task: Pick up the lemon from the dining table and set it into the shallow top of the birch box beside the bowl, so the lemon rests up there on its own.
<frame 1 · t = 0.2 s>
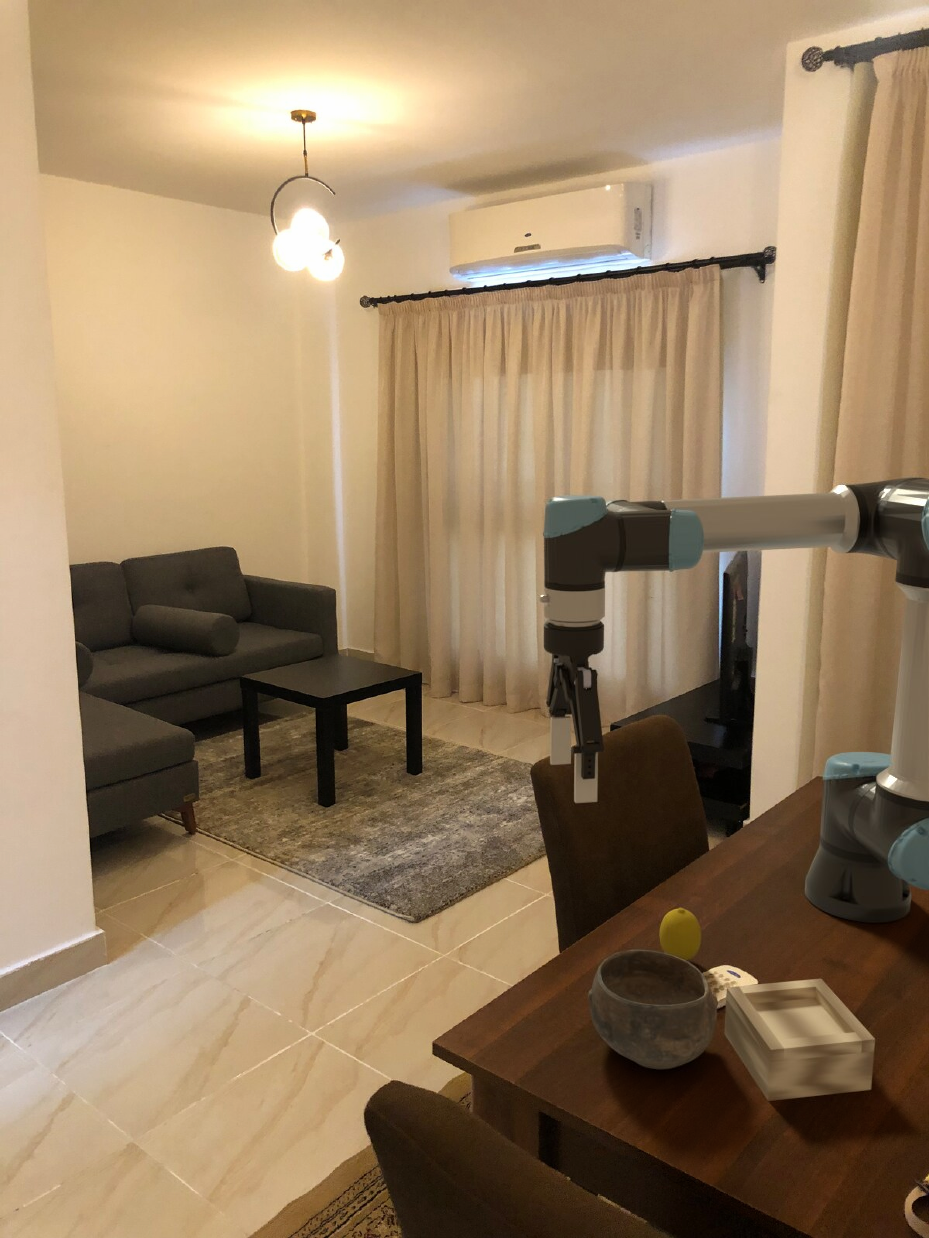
hand: (572, 781, 126), 27 cm above the table, tool pointing down, fingers open, 13 cm apart
bowl: (648, 1052, 115), on the table
birch box: (794, 1062, 113), on the table
lemon: (679, 963, 134), on the table
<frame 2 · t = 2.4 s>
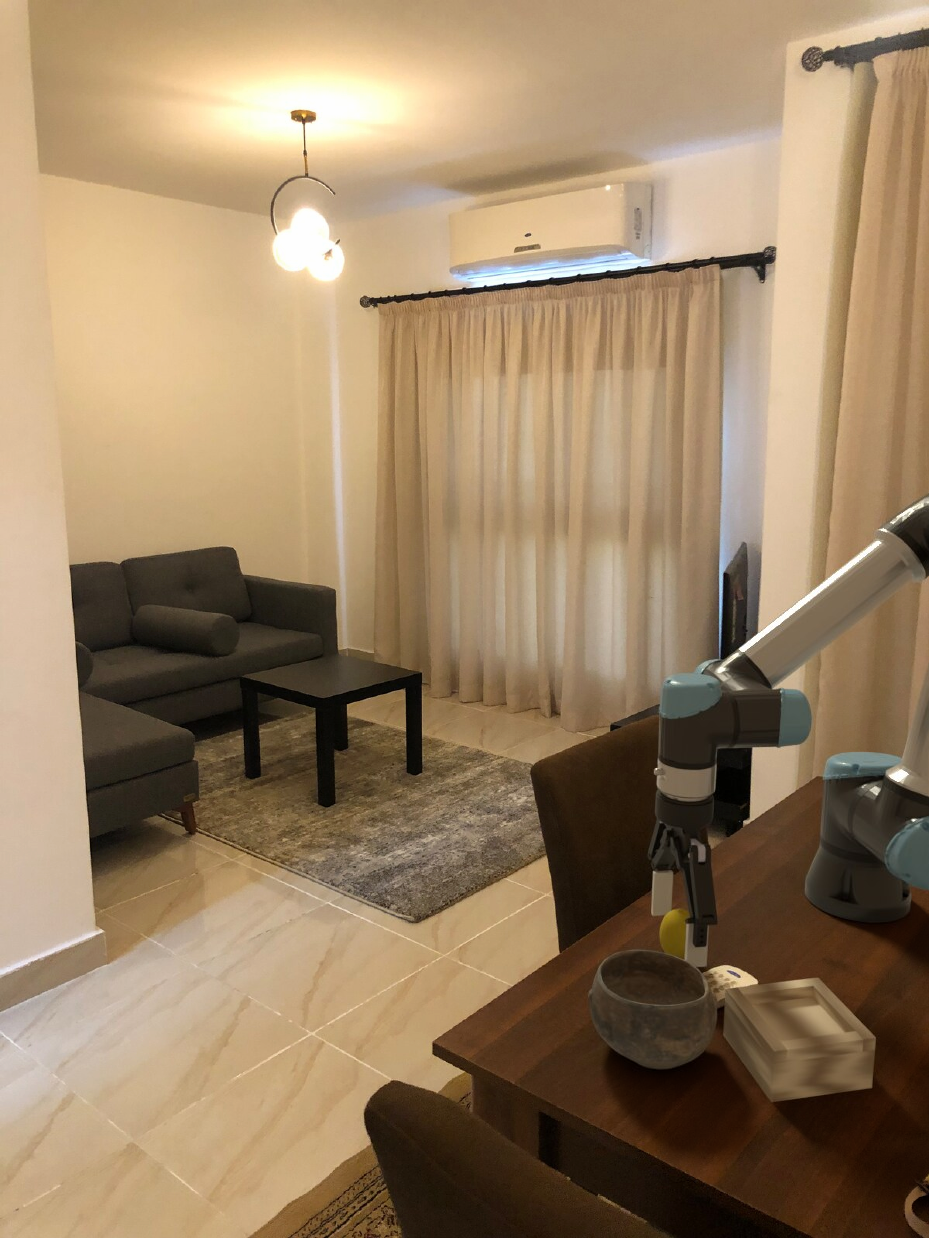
hand: (677, 938, 133), 4 cm above the table, tool pointing down, fingers open, 13 cm apart
nothing on the table moved.
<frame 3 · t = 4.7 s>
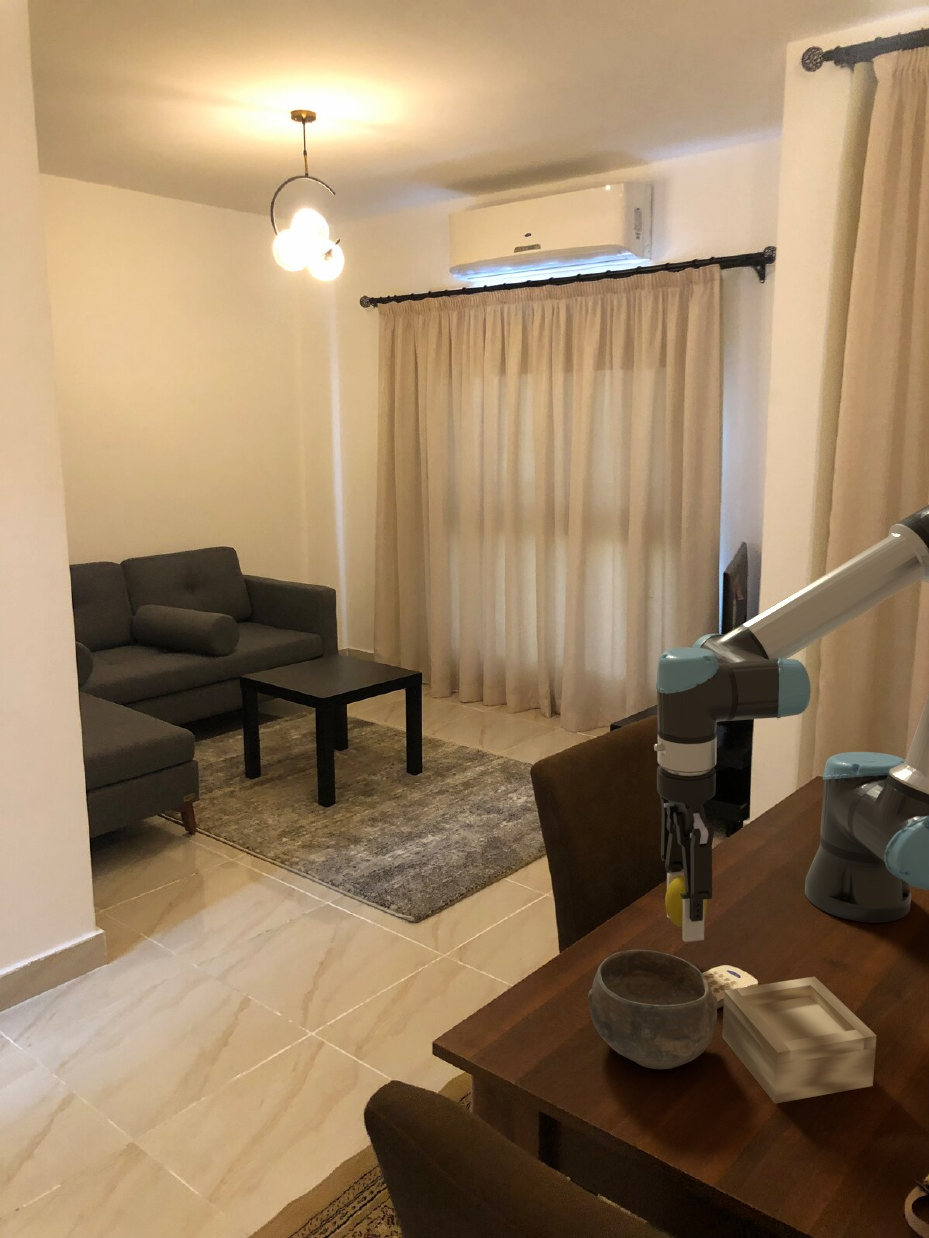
hand: (684, 927, 133), 5 cm above the table, tool pointing down, fingers closed on lemon, 5 cm apart
lemon: (686, 930, 133), point 5 cm above the table, touching gripper
everything else where it was.
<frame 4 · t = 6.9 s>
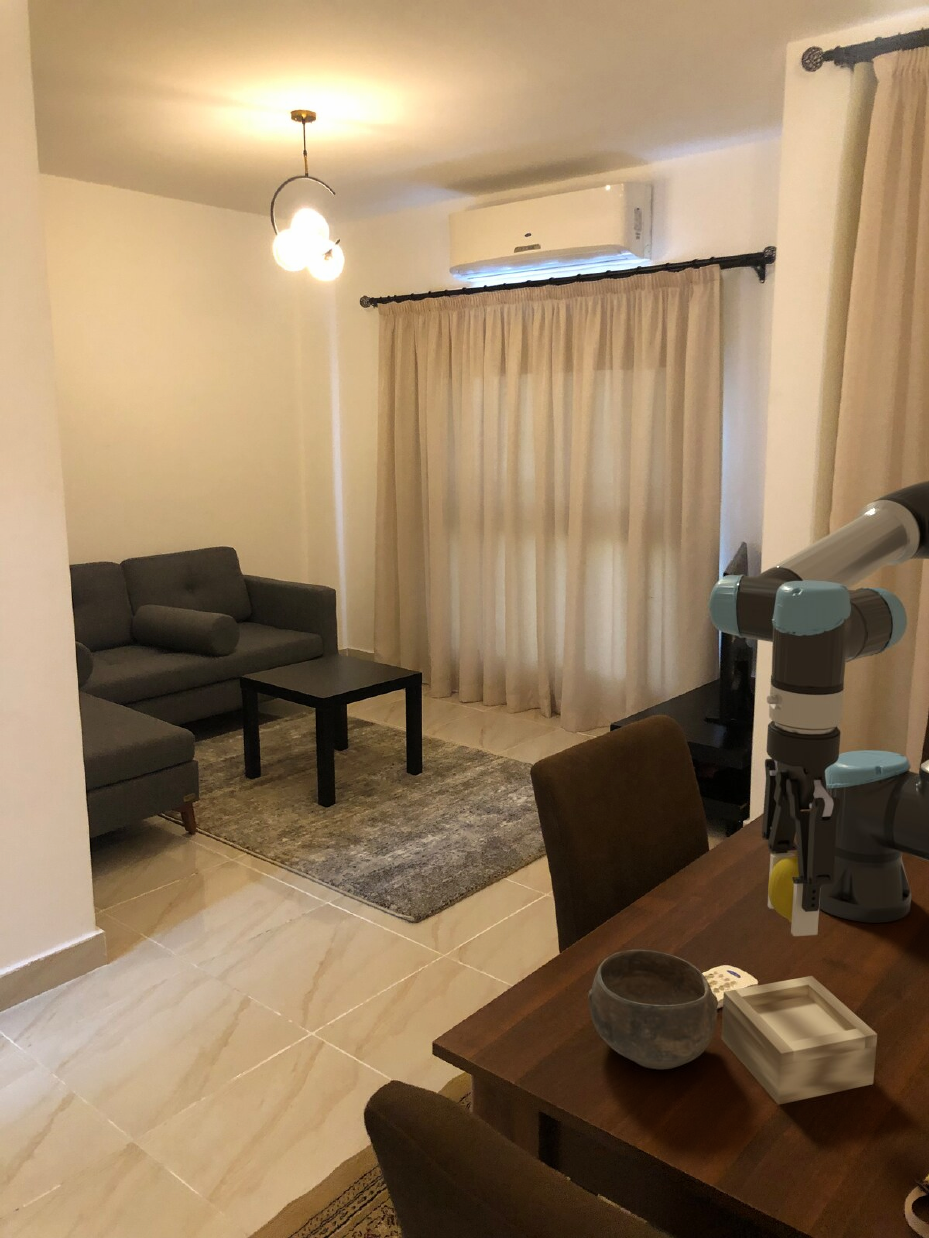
hand: (791, 919, 111), 17 cm above the table, tool pointing down, fingers closed on lemon, 5 cm apart
lemon: (792, 923, 111), point 17 cm above the table, touching gripper
everything else where it was.
when the fingers open (7 cm above the table, at t = 9.6 s): lemon drops 2 cm, resting on birch box.
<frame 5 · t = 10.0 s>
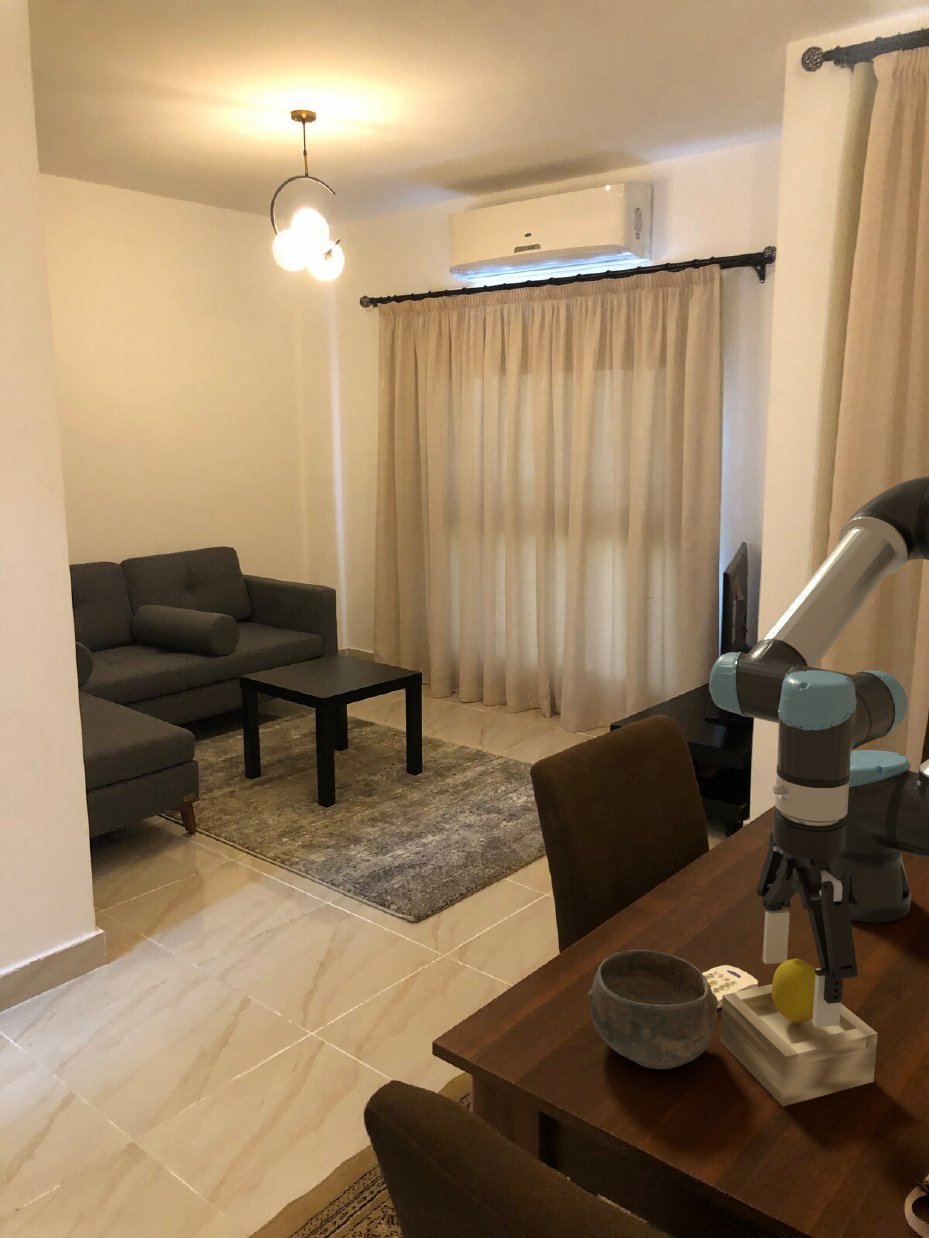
hand: (798, 991, 111), 9 cm above the table, tool pointing down, fingers open, 12 cm apart
birch box: (794, 1063, 113), on the table, touching lemon
lemon: (796, 1024, 112), point 4 cm above the table, touching birch box
everything else where it was.
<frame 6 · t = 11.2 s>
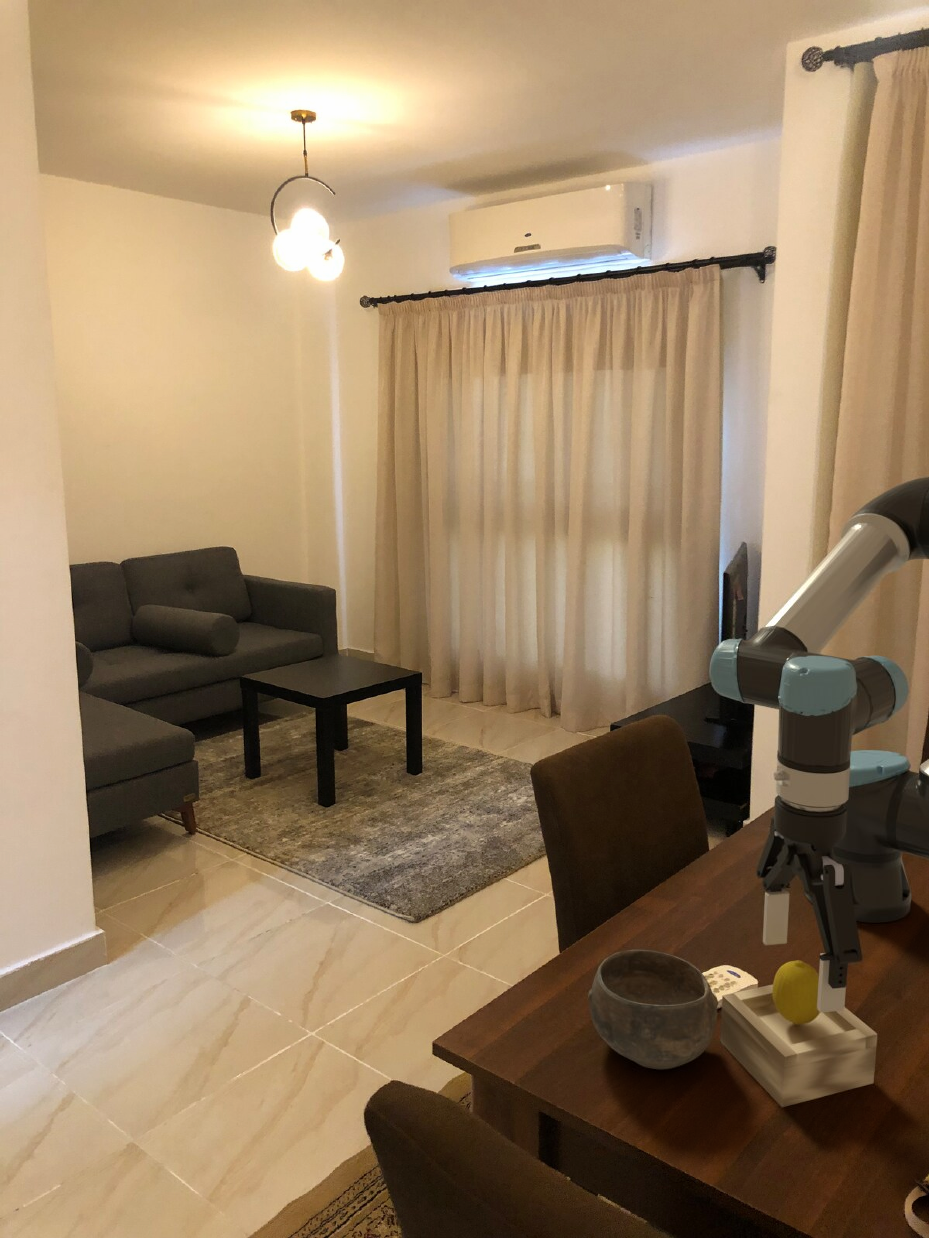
hand: (800, 974, 111), 11 cm above the table, tool pointing down, fingers open, 13 cm apart
nothing on the table moved.
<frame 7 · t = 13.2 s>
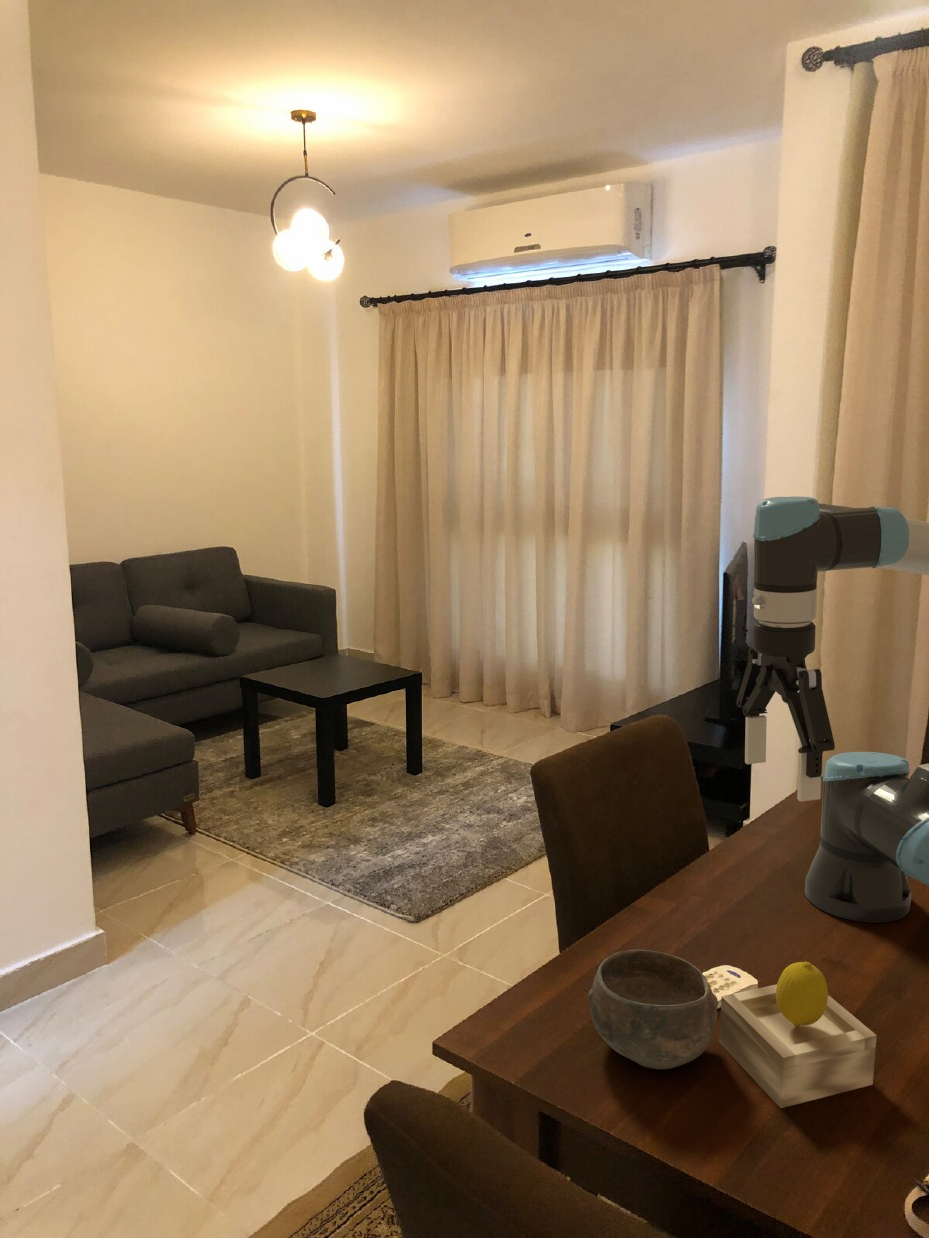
hand: (780, 780, 127), 27 cm above the table, tool pointing down, fingers open, 13 cm apart
nothing on the table moved.
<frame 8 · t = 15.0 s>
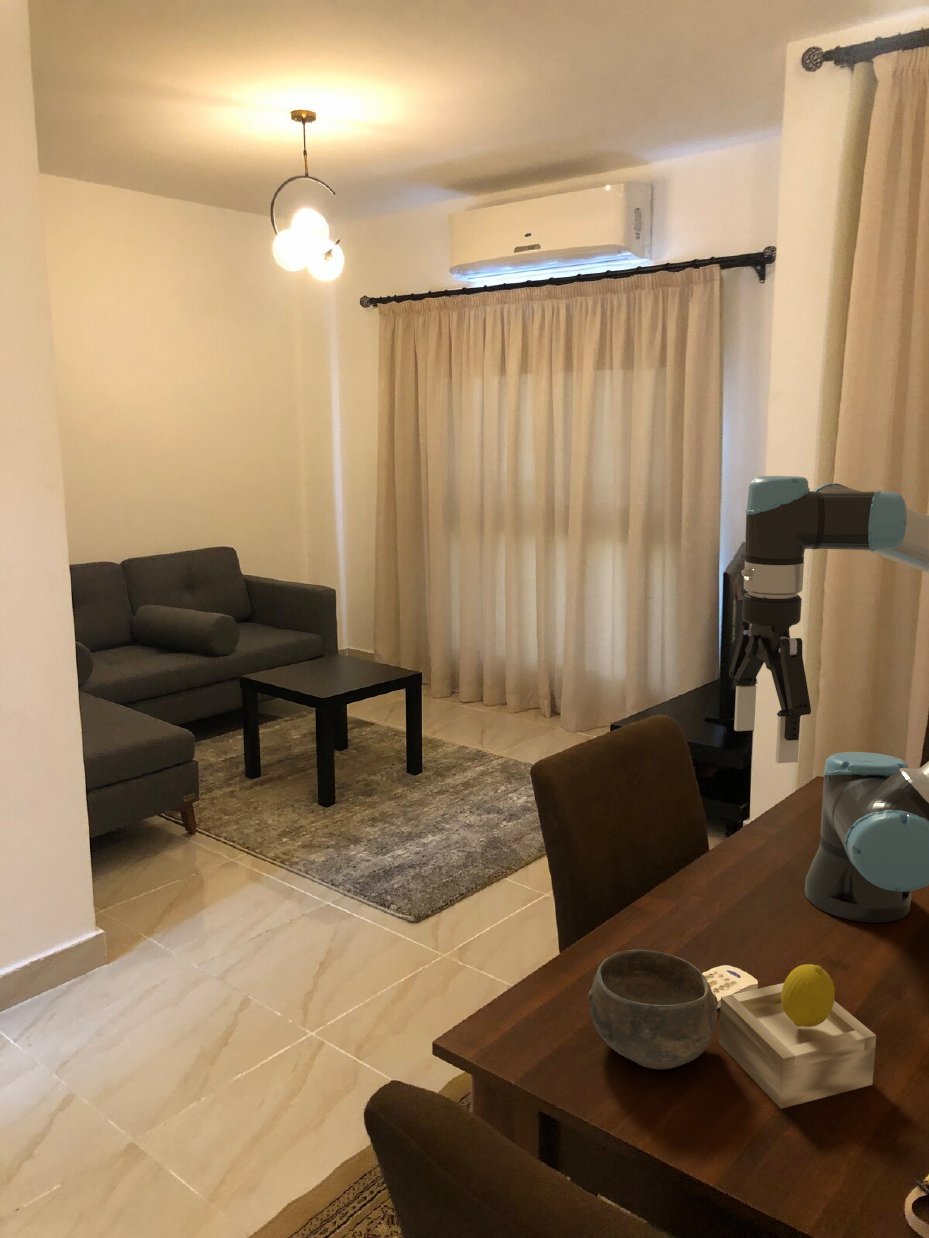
hand: (764, 745, 134), 29 cm above the table, tool pointing down, fingers open, 13 cm apart
at the end: lemon inside the target area on the birch box (0.1 cm from its centre), point 5.3 cm above the birch box's base; lemon touching birch box; the gripper is holding nothing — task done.
